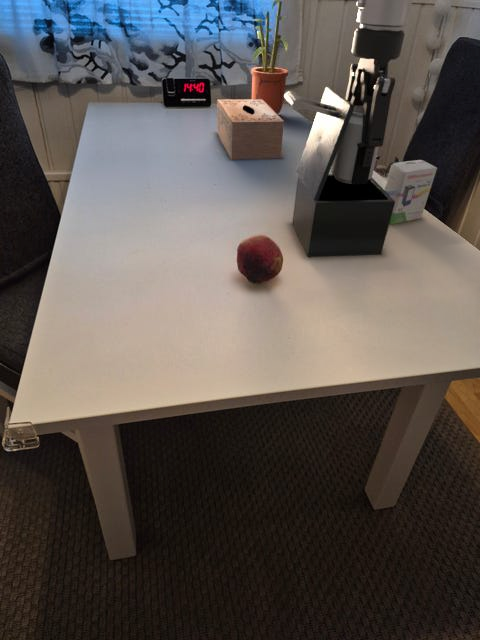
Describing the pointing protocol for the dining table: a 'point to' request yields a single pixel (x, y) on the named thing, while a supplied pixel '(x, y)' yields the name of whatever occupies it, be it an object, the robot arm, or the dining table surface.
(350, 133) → the can
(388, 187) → the ink box
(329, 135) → the bin lid
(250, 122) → the tissue box cover
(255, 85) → the potted plant
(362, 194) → the bin
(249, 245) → the fruit
